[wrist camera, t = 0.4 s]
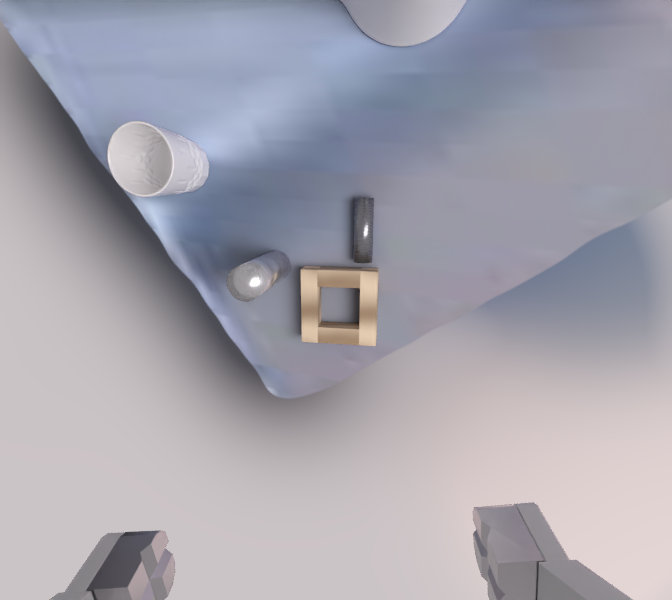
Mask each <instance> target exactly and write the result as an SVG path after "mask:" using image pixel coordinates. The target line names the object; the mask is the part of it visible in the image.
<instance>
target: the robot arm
mask: <svg viewBox="0 0 672 600" xmlns="http://www.w3.org/2000/svg"><path fill="white" fill-rule="evenodd" d="M340 1H341V2H342V3H343V4H344V5H345V7H346V8H347V10H348V12H349V13H350V15H351V17H352V19H353V20H354V22H355V23H356V24H357V25H358V27H359V28H360V29H361V30H362V31H363V32H364V33H365V34H367V35H368V36H369V37H371V38H372V39H374V40H376V41H378V42H380V43H383V44H386V45H391V46H411V45H416V44H419V43H422V42H425V41H427V40H429V39H431V38H433V37H434V36H436V35H437V34H439V33H440V32H442V31H443V30H444V29H445V28H446V27H447V26H448V25H449V24H450V23H451V22H452V21H453V20H454V19H455V18H456V16H457V15H458V13H459V12H460V10H461V9H462V7H463V6H464V4H465V3H466V1H467V0H340ZM473 521H474V523H475V526H476V529H477V530H476V531H475V532H474V534H473V536H474V548H475V554H476V559H477V563H478V566H479V569H480V573H481V576H482V577H483V578H484V579H485V580H486V581H487V582H488V596H489V599H490V600H632V599H631V598H630V597H628V596H627V595H625V594H624V593H623V592H621V591H619V590H618V589H617V588H615V587H614V586H613V585H611V584H610V583H608V582H607V581H606V580H604V579H603V578H601V577H600V576H598V575H597V574H595V573H594V572H593V571H591V570H590V569H589V568H587V567H586V566H584V565H583V564H581V563H580V562H579V561H577V560H569V558H568V556H567V554H566V553H565V551H564V550H563V548H562V546H561V544H560V543H559V541H558V539H557V538H556V536H555V534H554V532H553V531H552V529H551V527H550V526H549V524H548V522H547V521H546V519H545V517H544V516H543V514H542V512H541V510H540V509H539V507H538V505H536V504H535V503H522V504H514V505H512V504H509V505H497V506H486V507H474V509H473ZM167 543H168V539H167V536H166V533H165V532H164V531H139V532H125V533H108V534H106V535H105V536H103V537H102V538H101V539H100V541H99V542H98V544H97V545H96V547H95V548H94V550H93V551H92V553H91V554H90V556H89V557H88V558H87V560H86V562H85V563H84V564H83V566H82V567H81V569H80V570H79V572H78V573H77V575H76V576H75V577H74V579H73V580H72V582H71V583H70V585H69V586H68V588H67V589H66V591H65V592H64V593H58V594H56V595H55V596H54V597H52V598H51V599H50V600H164V599H165V598H166V597H167V596H168V594H169V592H170V589H171V587H172V585H173V580H174V573H175V562H174V558H173V555H172V553H170V552H169V551H168V550H167V549H165V547H166V545H167Z"/></svg>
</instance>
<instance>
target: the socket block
mask: <svg viewBox="0 0 672 600" xmlns="http://www.w3.org/2000/svg"><path fill="white" fill-rule="evenodd" d="M378 277H379V268H351V267H320V266H304V267H303V268H302V269H301V321H302V342H315V343H332V344H349V345H366V346H376V338H377V307H378ZM321 287H343V288H360V319H359V323H339V322H321Z"/></svg>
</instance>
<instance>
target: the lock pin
mask: <svg viewBox="0 0 672 600" xmlns="http://www.w3.org/2000/svg"><path fill="white" fill-rule="evenodd" d="M373 211H374V198H355V206H354V262H356V263H371V262H372V246H373Z"/></svg>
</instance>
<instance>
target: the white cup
mask: <svg viewBox="0 0 672 600" xmlns="http://www.w3.org/2000/svg"><path fill="white" fill-rule="evenodd" d="M107 158H108V164H109V168H110V171H111V173H112V175H113V177H114V179H115V180H116V182H117V183H118V184H119V185H120V186H121V187H122V188H123V189H124V190H126V191H127V192H129V193H131V194H133V195H136V196H140V197H151V196H163V195H173V194H180V193H184V192H192V191H195V190H197V189H198V188H200V187H202V186H203V185H204V183H205V181H206V179H207V178H208V175H209V162H208V159H207V155H206V153H205V151H204V150H203V149H202V148H201V147H200V146H199V145H198V144H197V143H195V142H193V141H191V140H189V139H186V138H184V137H183V136H181V135H178V134H176V133H173V132H171V131H168V130H166V129H163V128H160V127H157V126H154V125H152V124H149V123H146V122H142V121H132V122H128V123H125V124H123V125H122V126H120V127H119V128H118V129H117V130H116V131H115V132H114V133H113V135H112V137H111V139H110V141H109V145H108V151H107Z"/></svg>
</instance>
